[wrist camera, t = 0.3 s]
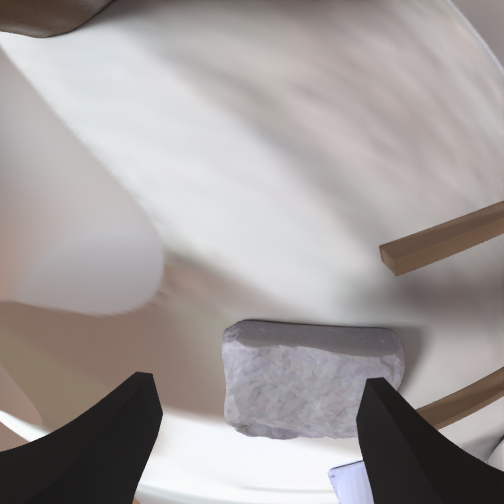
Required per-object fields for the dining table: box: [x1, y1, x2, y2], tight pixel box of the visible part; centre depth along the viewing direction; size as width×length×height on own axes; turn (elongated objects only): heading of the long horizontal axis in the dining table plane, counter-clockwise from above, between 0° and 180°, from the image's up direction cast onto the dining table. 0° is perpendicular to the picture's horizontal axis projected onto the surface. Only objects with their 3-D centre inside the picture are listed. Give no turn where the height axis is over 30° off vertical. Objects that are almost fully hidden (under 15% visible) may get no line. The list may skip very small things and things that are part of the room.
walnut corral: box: [379, 201, 504, 430], centre depth 18 cm, size 17×14×2 cm
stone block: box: [222, 320, 406, 440], centre depth 20 cm, size 12×5×10 cm
